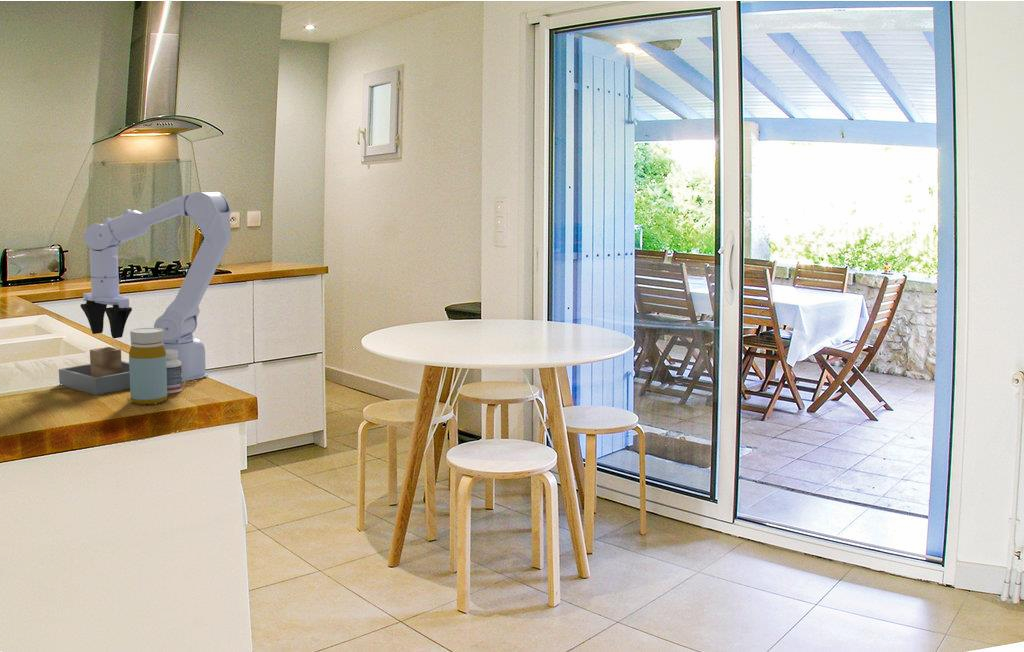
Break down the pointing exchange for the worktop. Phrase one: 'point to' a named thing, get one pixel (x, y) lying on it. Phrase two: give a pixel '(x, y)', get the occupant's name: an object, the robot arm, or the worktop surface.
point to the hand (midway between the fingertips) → (107, 335)
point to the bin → (94, 379)
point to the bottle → (147, 366)
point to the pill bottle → (173, 371)
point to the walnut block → (105, 361)
